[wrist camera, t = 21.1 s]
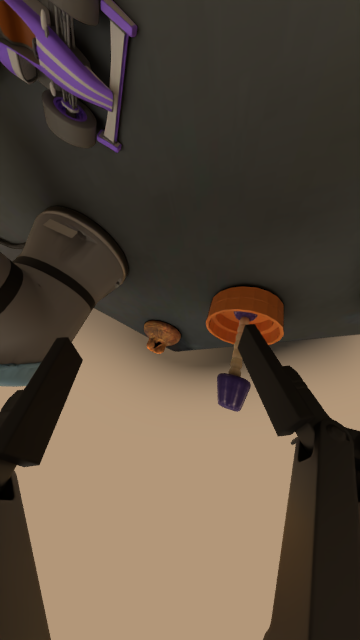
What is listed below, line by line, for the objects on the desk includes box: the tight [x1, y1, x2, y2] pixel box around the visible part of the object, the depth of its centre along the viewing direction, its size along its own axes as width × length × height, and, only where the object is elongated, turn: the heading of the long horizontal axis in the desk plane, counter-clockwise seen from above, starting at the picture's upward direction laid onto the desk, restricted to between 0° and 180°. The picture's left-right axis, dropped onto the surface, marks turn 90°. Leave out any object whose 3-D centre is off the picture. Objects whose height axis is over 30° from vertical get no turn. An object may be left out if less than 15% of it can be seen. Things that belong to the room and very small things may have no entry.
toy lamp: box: [217, 311, 258, 411], centre depth 27 cm, size 5×5×17 cm
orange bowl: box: [206, 286, 284, 345], centre depth 30 cm, size 12×12×5 cm
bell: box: [144, 320, 181, 354], centre depth 50 cm, size 12×12×7 cm
